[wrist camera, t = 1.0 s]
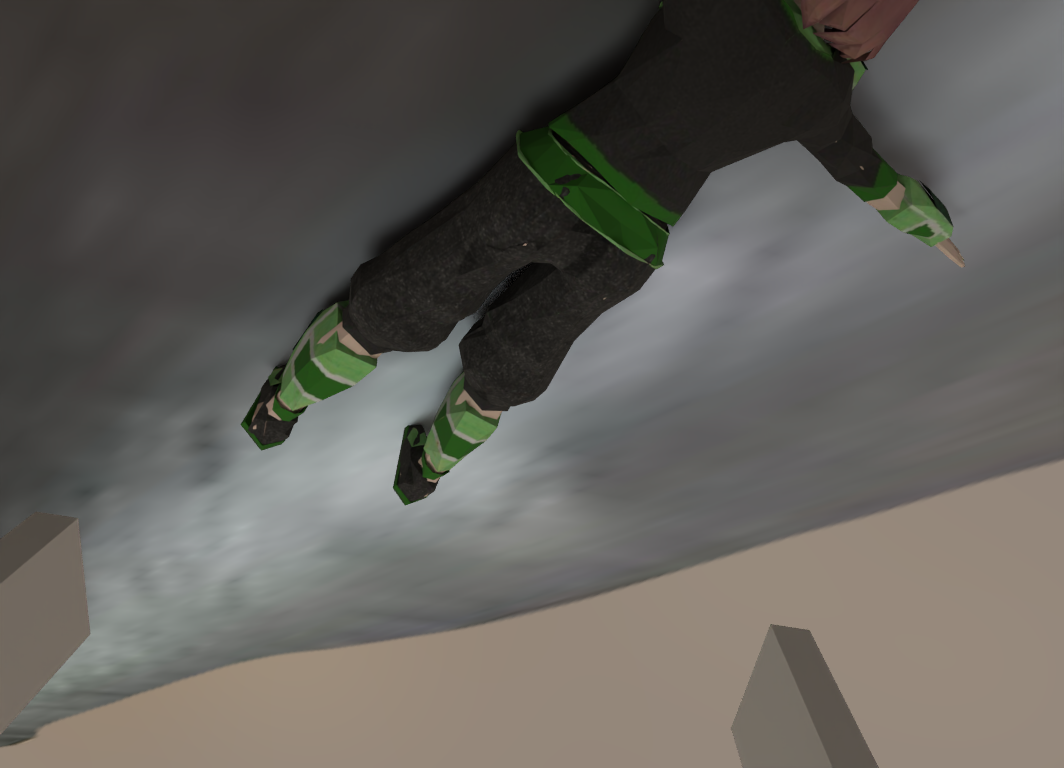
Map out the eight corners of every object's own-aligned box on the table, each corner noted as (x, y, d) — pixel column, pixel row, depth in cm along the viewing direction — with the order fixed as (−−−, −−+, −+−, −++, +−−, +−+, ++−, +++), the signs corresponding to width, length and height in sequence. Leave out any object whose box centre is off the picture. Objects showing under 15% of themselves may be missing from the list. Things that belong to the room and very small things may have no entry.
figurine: (543, 487, 40) (1084, 96, 24) (550, 582, 36) (1213, 184, 20) (73, 275, 27) (555, -838, 11) (-2, 383, 23) (596, -1148, 7)
